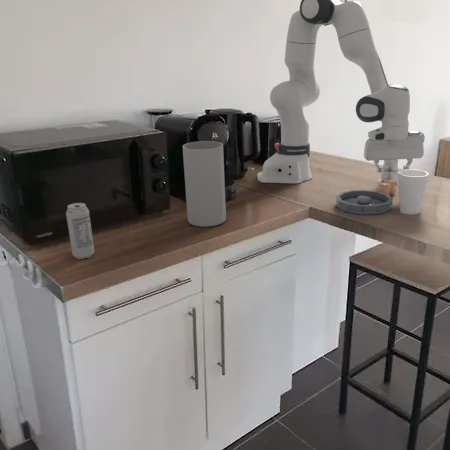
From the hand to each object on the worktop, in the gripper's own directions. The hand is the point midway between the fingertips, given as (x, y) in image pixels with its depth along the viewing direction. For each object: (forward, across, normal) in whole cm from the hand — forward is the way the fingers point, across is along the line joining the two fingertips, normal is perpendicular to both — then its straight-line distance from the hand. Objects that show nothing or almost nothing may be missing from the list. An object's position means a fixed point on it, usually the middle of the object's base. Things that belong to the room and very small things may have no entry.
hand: (392, 171), depth 183 cm
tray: (+8, +13, +12) cm, 20 cm away
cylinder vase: (+8, +66, +24) cm, 70 cm away
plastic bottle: (+8, -3, -16) cm, 18 cm away
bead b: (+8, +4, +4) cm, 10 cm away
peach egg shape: (+8, +1, 0) cm, 9 cm away
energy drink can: (+8, +99, +50) cm, 111 cm away
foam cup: (+9, -1, +19) cm, 21 cm away
